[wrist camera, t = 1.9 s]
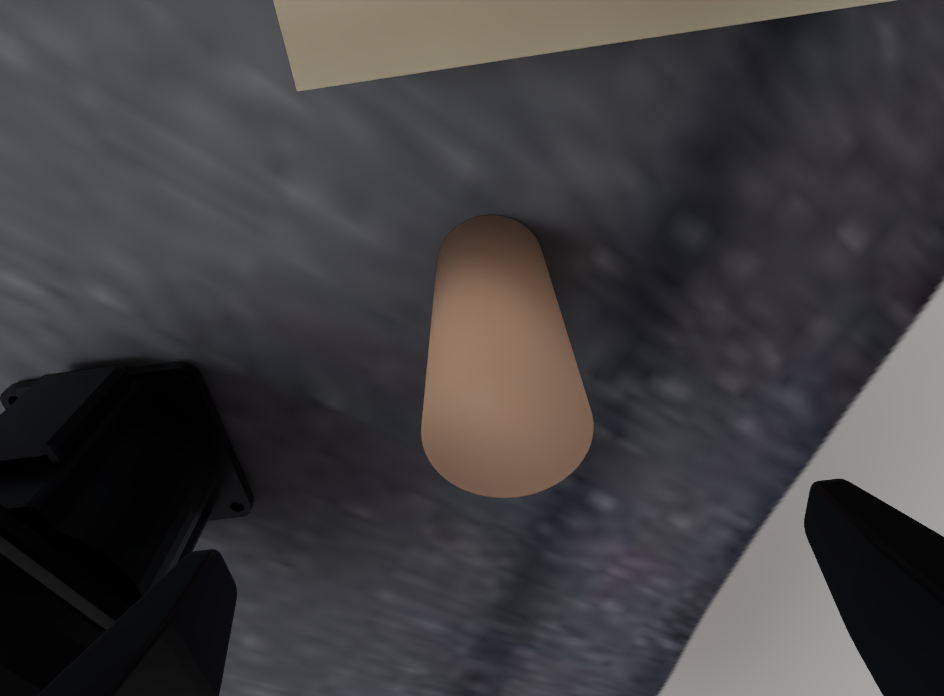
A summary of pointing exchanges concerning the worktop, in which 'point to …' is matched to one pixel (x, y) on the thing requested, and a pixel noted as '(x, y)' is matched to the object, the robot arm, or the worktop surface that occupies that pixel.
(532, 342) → the peg
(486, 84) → the worktop surface
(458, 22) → the socket block
